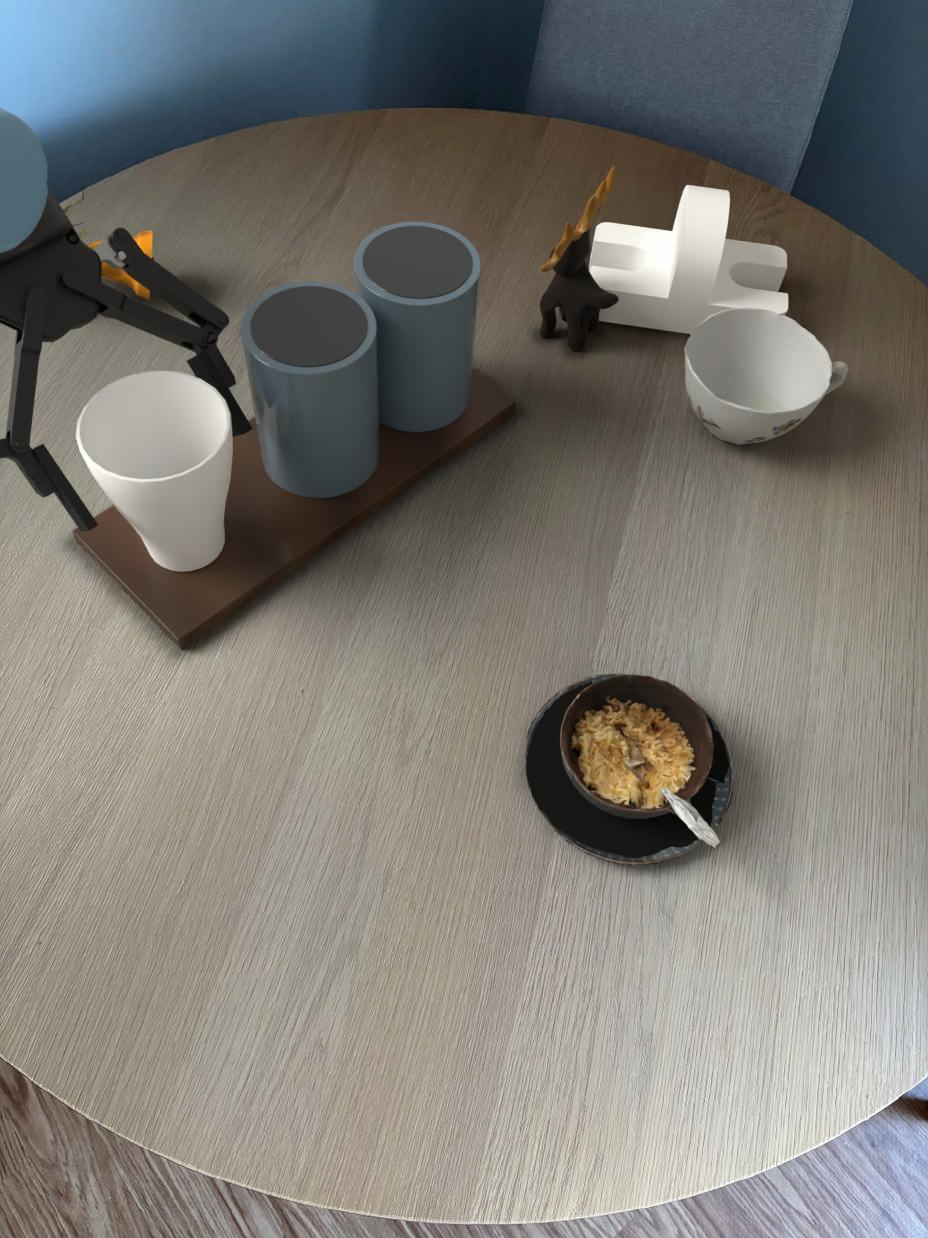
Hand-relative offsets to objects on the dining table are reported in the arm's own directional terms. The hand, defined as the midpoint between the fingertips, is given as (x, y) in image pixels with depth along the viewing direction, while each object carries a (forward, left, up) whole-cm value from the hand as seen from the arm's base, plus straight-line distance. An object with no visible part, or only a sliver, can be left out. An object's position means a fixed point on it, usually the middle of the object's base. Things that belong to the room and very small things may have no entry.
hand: (169, 479), depth 77 cm
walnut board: (+11, +6, -9) cm, 16 cm away
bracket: (+51, +21, -9) cm, 56 cm away
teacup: (+51, +4, -9) cm, 52 cm away
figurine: (+38, +18, -9) cm, 43 cm away
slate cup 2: (+22, +13, -8) cm, 26 cm away
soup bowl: (+28, -27, -9) cm, 40 cm away
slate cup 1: (+12, +7, -8) cm, 16 cm away
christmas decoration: (0, +31, -9) cm, 32 cm away
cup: (0, 0, -8) cm, 8 cm away
